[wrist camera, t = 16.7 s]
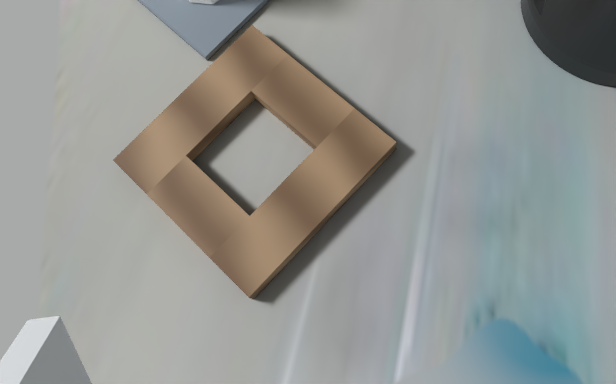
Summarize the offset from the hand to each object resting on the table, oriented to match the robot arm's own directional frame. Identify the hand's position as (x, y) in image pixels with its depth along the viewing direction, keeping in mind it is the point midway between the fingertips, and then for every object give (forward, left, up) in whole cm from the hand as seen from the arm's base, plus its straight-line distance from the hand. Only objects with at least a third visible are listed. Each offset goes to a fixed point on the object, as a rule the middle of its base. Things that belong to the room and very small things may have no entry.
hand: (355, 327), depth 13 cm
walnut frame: (-4, -17, -30) cm, 35 cm away
